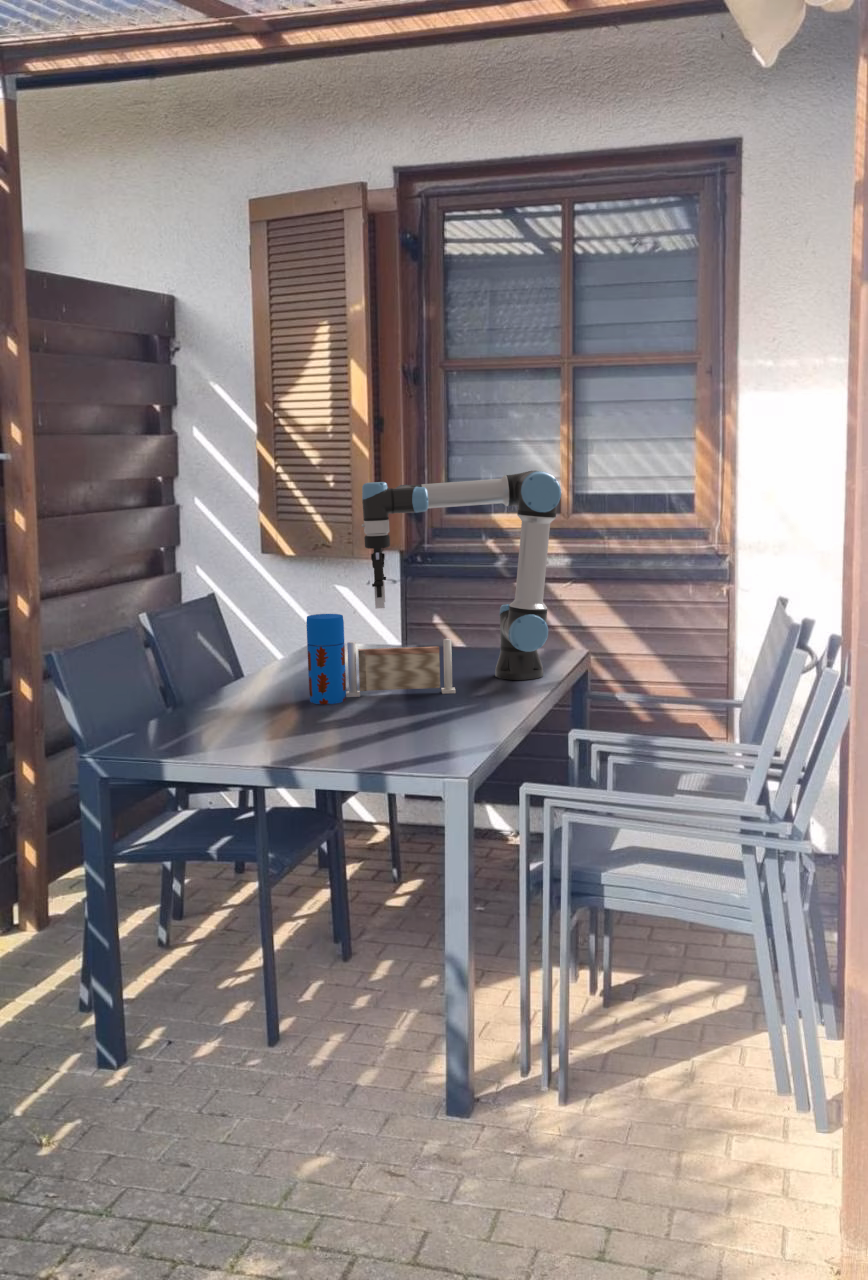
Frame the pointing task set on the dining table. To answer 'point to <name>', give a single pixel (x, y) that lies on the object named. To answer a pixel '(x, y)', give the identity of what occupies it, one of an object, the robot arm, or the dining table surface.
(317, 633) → the thermos
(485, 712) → the dining table surface
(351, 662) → the gate posts
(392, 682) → the gate
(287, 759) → the dining table surface
